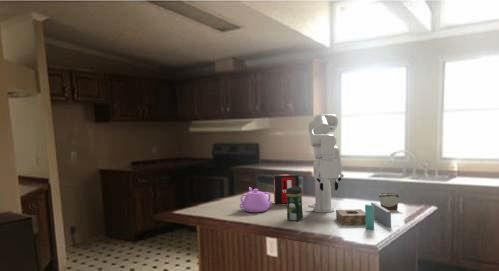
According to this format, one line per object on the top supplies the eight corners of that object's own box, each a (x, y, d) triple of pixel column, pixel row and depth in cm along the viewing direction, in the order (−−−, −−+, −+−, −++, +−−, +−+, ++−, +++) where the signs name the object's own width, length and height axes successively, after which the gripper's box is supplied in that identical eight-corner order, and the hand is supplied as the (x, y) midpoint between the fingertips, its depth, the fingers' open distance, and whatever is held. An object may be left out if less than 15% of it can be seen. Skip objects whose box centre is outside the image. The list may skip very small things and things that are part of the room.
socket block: (342, 225, 180) (342, 215, 180) (336, 218, 194) (336, 209, 194) (369, 224, 179) (369, 215, 179) (361, 218, 193) (361, 209, 193)
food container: (396, 208, 217) (396, 192, 217) (399, 210, 211) (399, 194, 211) (376, 208, 218) (376, 192, 218) (379, 210, 212) (378, 194, 212)
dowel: (367, 230, 170) (366, 206, 170) (364, 228, 174) (364, 204, 174) (375, 230, 170) (374, 206, 170) (372, 228, 174) (371, 204, 174)
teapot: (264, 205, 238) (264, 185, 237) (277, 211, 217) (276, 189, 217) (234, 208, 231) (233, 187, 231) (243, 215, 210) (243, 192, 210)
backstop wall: (387, 227, 174) (386, 211, 174) (371, 216, 198) (371, 202, 198) (391, 227, 174) (390, 211, 174) (375, 216, 198) (374, 202, 198)
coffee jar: (291, 216, 202) (291, 185, 202) (304, 218, 198) (303, 185, 198) (284, 220, 194) (284, 187, 194) (297, 222, 190) (297, 188, 190)
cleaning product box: (297, 201, 246) (296, 173, 246) (299, 204, 237) (298, 175, 237) (274, 202, 246) (273, 174, 246) (275, 205, 237) (274, 176, 237)
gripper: (313, 158, 183) (314, 191, 183) (346, 157, 183) (346, 191, 183) (311, 157, 191) (311, 189, 191) (342, 156, 190) (343, 188, 190)
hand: (329, 189), depth 187 cm, fingers open, 6 cm apart
